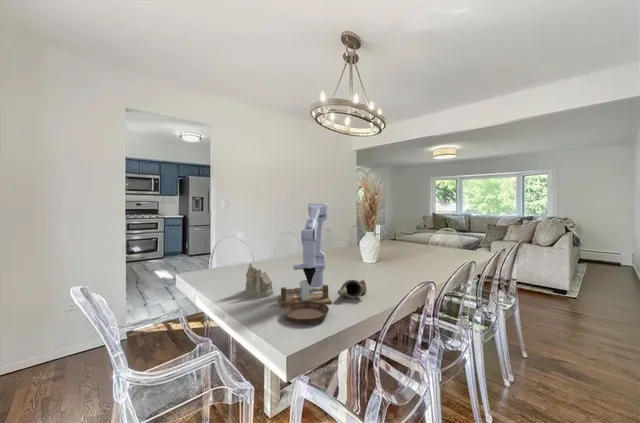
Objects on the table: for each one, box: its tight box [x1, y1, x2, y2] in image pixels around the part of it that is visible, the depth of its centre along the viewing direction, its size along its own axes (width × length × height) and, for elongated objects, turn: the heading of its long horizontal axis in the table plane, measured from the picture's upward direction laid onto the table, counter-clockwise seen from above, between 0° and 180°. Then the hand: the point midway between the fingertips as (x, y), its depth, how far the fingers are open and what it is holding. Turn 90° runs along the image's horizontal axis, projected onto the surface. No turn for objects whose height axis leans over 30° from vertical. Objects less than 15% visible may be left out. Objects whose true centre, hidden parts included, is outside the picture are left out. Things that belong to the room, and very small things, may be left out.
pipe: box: [337, 279, 367, 299], centre depth 134 cm, size 16×9×15 cm
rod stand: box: [278, 284, 333, 308], centre depth 127 cm, size 12×22×6 cm, turn 102°
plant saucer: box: [282, 301, 330, 325], centre depth 110 cm, size 18×18×3 cm
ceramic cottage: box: [244, 263, 274, 299], centre depth 141 cm, size 16×16×15 cm
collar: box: [299, 279, 310, 301], centre depth 127 cm, size 7×3×7 cm, turn 12°
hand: (309, 284), depth 130 cm, fingers closed
